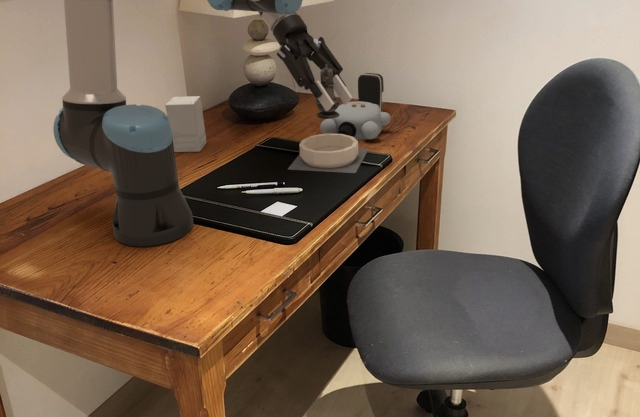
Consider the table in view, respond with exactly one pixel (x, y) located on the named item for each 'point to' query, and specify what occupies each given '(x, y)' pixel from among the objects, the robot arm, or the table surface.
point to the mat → (350, 168)
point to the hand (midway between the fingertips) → (339, 104)
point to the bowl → (329, 150)
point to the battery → (370, 88)
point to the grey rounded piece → (357, 120)
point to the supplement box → (186, 123)
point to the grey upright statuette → (328, 85)
